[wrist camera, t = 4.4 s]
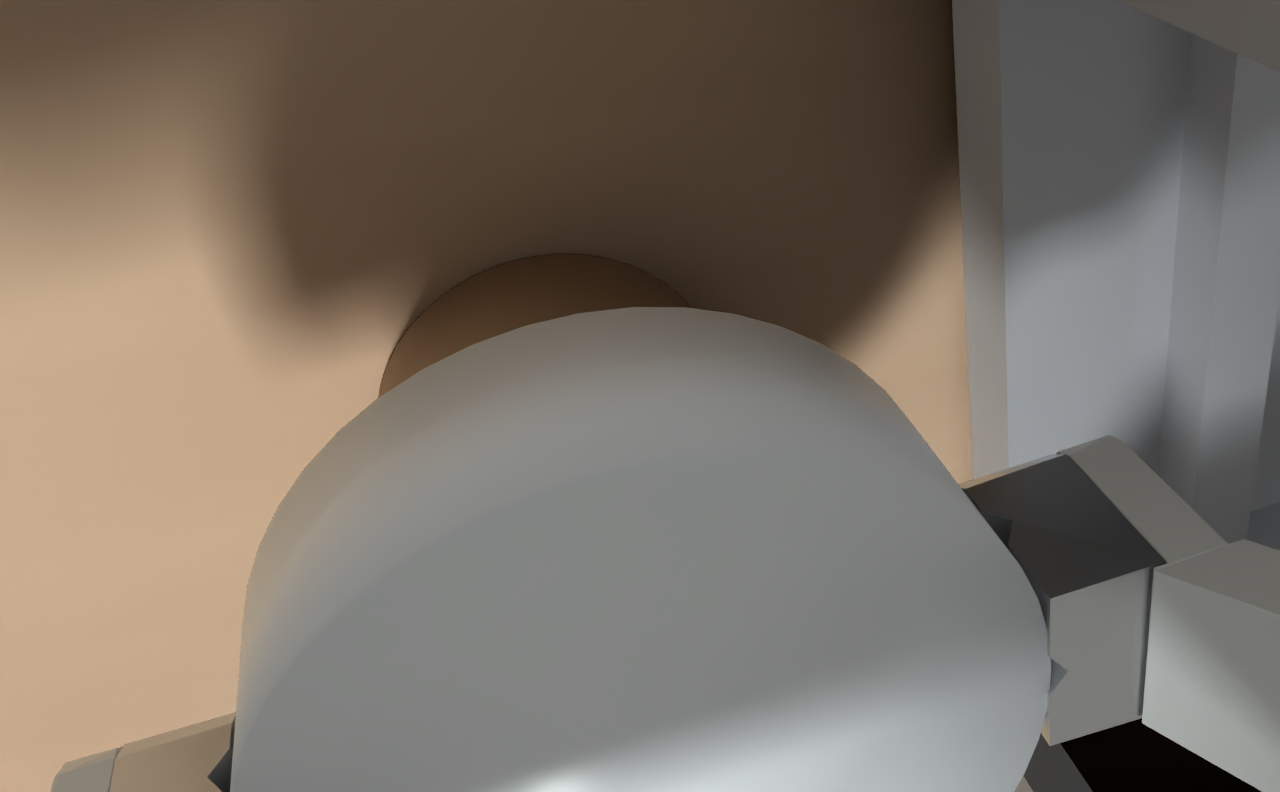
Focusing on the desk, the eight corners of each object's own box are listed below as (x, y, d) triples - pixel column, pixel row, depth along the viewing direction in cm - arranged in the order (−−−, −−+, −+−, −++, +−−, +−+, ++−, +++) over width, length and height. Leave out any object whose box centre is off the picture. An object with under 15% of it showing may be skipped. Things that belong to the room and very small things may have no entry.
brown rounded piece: (688, 210, 13) (798, 377, 10) (742, 491, 15) (844, 693, 12) (324, 314, 12) (327, 520, 9) (436, 586, 15) (465, 818, 12)
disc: (921, 209, 9) (1054, 333, 7) (956, 734, 13) (1049, 895, 11) (106, 449, 9) (56, 638, 7) (384, 923, 12) (394, 1123, 11)
